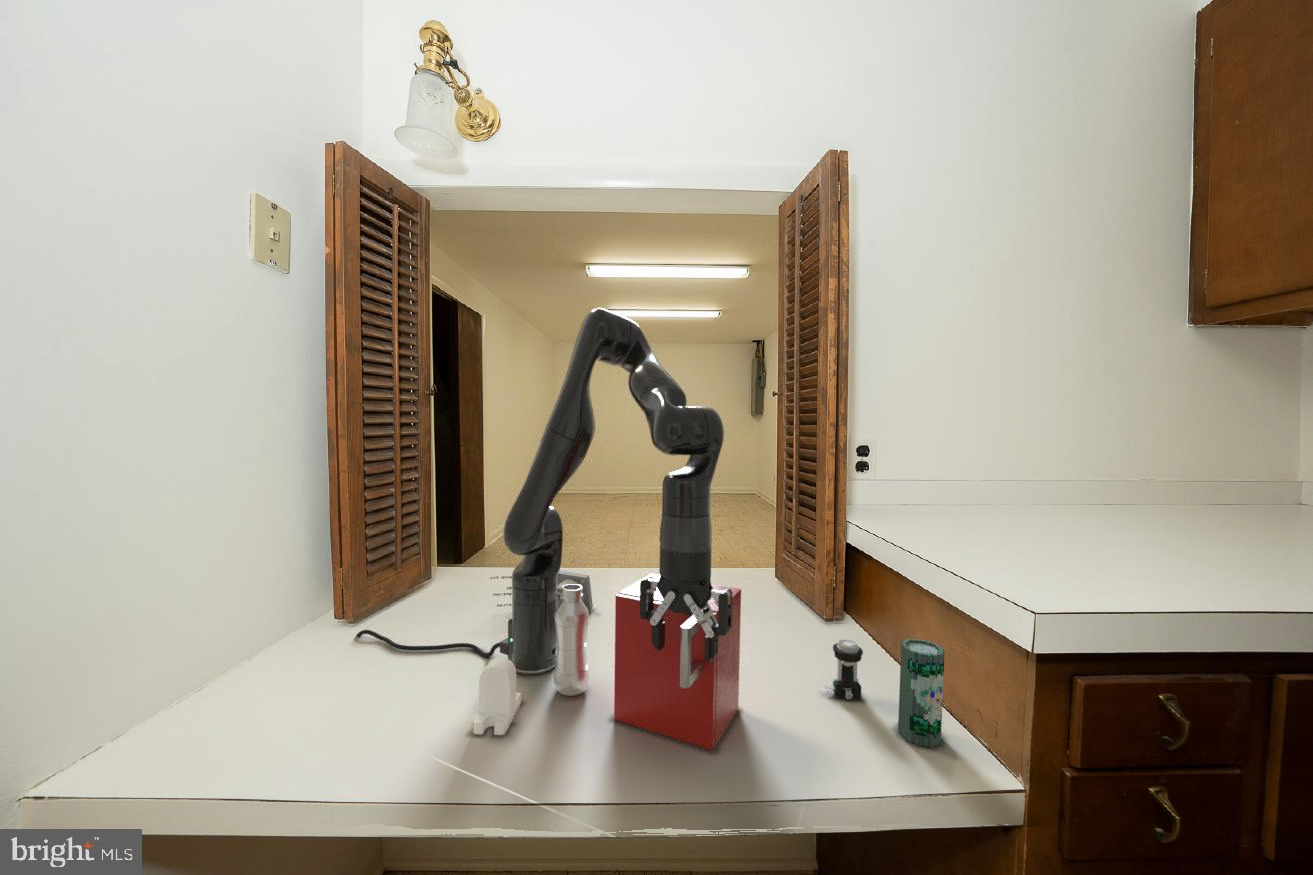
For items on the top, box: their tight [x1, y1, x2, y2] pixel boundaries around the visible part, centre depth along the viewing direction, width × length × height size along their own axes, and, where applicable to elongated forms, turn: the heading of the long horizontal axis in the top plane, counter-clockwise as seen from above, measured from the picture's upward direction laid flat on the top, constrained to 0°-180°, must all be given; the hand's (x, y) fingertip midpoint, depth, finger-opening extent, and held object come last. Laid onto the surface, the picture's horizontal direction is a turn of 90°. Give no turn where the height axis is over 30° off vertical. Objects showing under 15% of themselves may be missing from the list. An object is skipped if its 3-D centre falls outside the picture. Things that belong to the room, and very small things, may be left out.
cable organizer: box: [473, 656, 522, 736], centre depth 91 cm, size 5×10×10 cm, turn 178°
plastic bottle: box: [553, 584, 590, 697], centre depth 100 cm, size 6×7×20 cm
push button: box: [824, 639, 864, 700], centre depth 100 cm, size 7×5×10 cm
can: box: [897, 638, 946, 748], centre depth 88 cm, size 6×6×15 cm
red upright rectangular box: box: [618, 573, 742, 747], centre depth 93 cm, size 12×18×22 cm, turn 63°
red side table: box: [613, 593, 717, 751], centre depth 84 cm, size 7×18×22 cm, turn 63°
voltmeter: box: [489, 570, 594, 612], centre depth 138 cm, size 27×11×10 cm, turn 103°
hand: (683, 653), depth 78 cm, fingers open, 7 cm apart
